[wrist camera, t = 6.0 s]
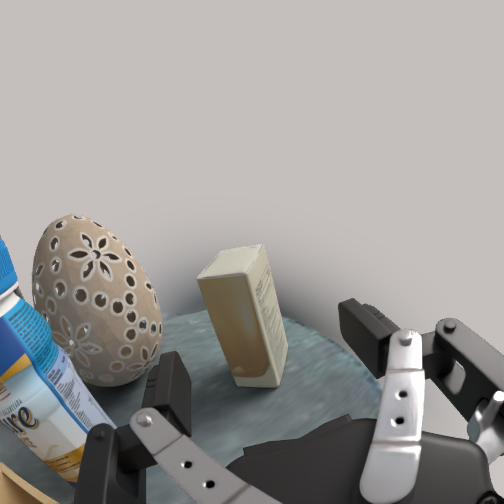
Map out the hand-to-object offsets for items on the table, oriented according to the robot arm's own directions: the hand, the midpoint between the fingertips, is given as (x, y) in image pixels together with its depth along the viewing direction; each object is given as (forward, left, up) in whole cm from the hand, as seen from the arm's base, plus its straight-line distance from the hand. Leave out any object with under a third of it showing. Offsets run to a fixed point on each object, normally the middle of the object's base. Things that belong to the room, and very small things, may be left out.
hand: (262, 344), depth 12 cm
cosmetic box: (-3, +11, -11) cm, 16 cm away
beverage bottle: (-17, -3, -11) cm, 20 cm away
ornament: (-20, +11, -11) cm, 25 cm away
